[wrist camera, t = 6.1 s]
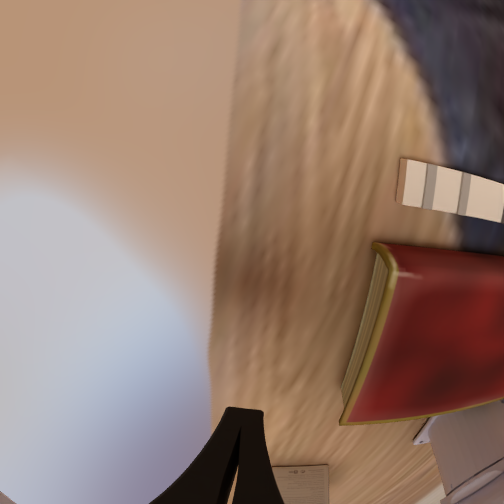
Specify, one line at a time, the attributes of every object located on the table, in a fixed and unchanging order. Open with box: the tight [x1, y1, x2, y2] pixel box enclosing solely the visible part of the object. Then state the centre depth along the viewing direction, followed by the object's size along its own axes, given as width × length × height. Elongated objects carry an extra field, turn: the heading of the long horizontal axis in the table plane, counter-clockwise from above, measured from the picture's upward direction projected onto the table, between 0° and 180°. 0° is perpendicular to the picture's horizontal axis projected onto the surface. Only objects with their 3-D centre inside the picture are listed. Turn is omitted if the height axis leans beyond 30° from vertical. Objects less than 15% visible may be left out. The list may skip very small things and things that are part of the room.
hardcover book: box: [339, 242, 504, 426], centre depth 15 cm, size 12×21×4 cm, turn 88°
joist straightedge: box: [396, 158, 504, 224], centre depth 13 cm, size 12×2×1 cm, turn 88°
